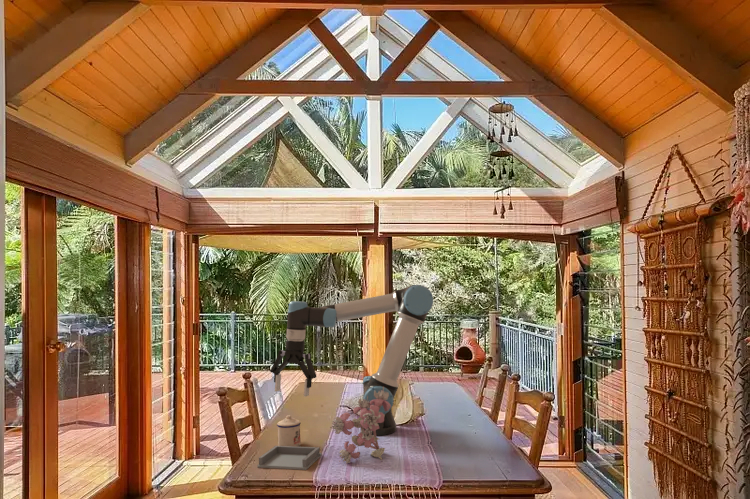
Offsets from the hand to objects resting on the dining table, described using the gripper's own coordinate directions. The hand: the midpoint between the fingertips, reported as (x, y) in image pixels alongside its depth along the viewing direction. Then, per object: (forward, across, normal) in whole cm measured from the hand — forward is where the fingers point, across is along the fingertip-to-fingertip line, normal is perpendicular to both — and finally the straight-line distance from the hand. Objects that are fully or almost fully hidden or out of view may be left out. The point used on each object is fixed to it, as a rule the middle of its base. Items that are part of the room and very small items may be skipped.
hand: (291, 393), depth 225 cm
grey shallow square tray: (+19, +13, -18) cm, 30 cm away
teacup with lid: (+20, +2, -1) cm, 20 cm away
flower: (+17, +37, -9) cm, 41 cm away
